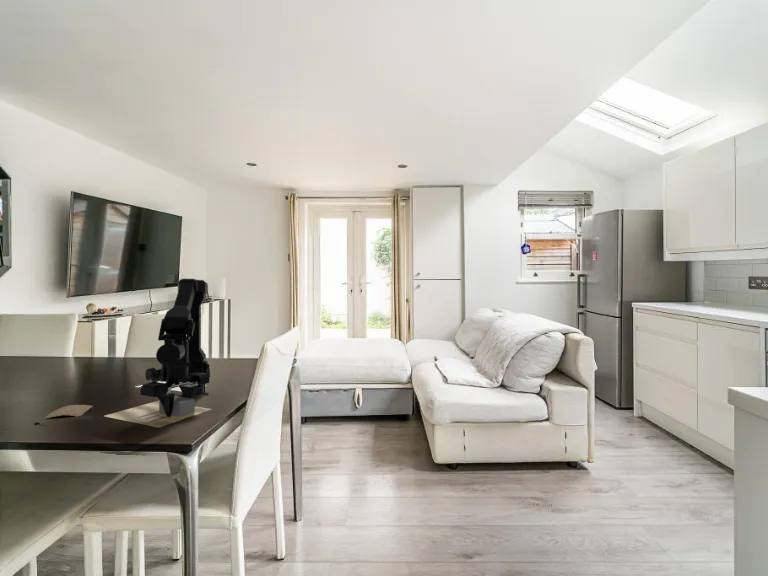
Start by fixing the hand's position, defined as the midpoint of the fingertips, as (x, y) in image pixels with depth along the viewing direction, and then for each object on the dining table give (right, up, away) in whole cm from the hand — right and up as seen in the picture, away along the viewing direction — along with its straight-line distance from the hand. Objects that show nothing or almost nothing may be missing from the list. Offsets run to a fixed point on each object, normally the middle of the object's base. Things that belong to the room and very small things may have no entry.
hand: (176, 414), depth 121 cm
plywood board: (-6, -2, +3) cm, 7 cm away
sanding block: (0, 0, 0) cm, 0 cm away
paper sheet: (-24, -2, +34) cm, 42 cm away
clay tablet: (-32, -2, +2) cm, 32 cm away
